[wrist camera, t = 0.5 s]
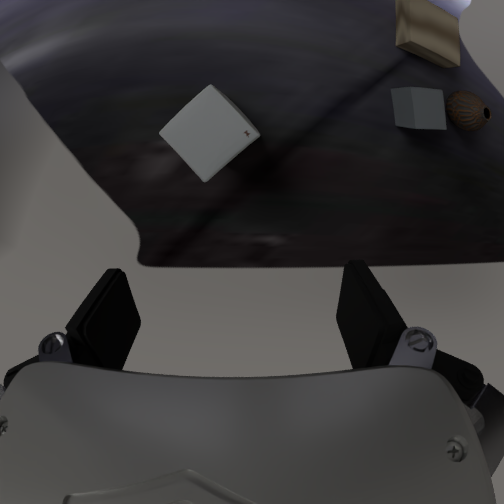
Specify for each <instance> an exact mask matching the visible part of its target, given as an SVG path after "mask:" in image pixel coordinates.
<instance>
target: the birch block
mask: <svg viewBox="0 0 504 504" xmlns="http://www.w3.org/2000/svg"><path fill="white" fill-rule="evenodd" d="M395 3H396V46H397V47H399V48H402V49H404V50H406V51H409V52H411V53H413V54H416V55H418V56H420V57H422V58H424V59H426V60H428V61H430V62H432V63H434V64H436V65H438V66H440V67H442V68H450V67H460V42H459V27H458V19H457V18H456V17H454V16H453V15H451V14H450V13H448V12H446V11H445V10H443V9H441V8H440V7H438V6H436V5H434V4H432V3H431V2H429V1H427V0H395Z"/></svg>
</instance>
